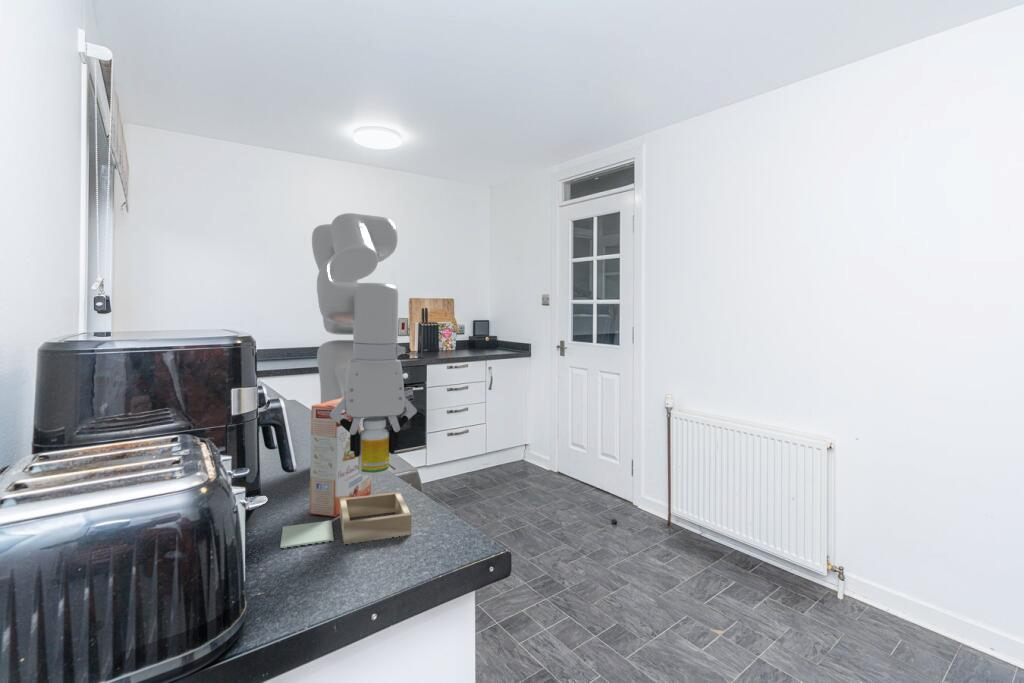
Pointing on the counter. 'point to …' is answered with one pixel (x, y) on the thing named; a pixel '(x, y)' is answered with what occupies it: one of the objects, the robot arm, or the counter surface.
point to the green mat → (307, 534)
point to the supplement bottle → (374, 447)
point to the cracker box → (333, 462)
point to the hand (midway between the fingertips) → (373, 452)
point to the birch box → (374, 526)
